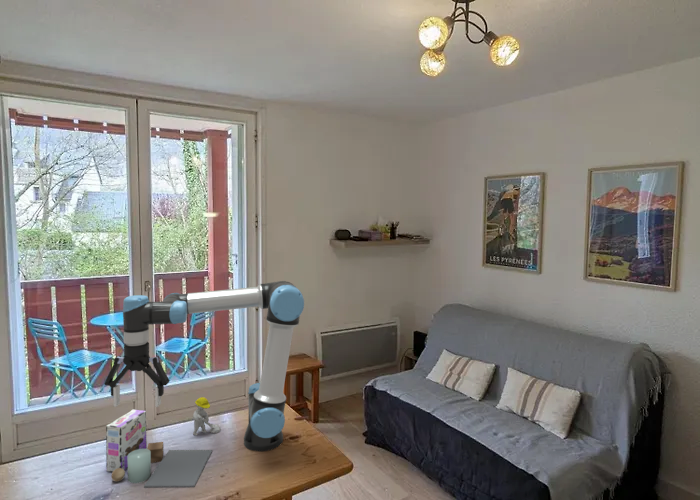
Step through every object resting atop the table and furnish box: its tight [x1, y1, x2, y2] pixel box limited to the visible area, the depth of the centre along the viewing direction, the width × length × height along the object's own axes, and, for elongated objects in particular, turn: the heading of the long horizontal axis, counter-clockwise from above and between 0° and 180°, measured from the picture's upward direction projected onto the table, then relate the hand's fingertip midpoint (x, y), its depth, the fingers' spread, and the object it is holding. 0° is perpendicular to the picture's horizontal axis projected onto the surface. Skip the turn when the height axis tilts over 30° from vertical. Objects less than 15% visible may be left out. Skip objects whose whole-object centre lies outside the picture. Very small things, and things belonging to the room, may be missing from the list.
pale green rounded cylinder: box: [127, 449, 152, 484], centre depth 147 cm, size 7×7×8 cm
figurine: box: [192, 396, 222, 436], centre depth 177 cm, size 10×9×15 cm
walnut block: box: [147, 441, 165, 464], centre depth 158 cm, size 5×5×5 cm
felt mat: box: [143, 449, 213, 489], centre depth 153 cm, size 16×22×1 cm
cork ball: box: [110, 468, 126, 483], centre depth 145 cm, size 4×4×4 cm
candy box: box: [105, 408, 148, 473], centre depth 155 cm, size 14×6×16 cm, turn 168°
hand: (137, 405), depth 146 cm, fingers open, 13 cm apart
